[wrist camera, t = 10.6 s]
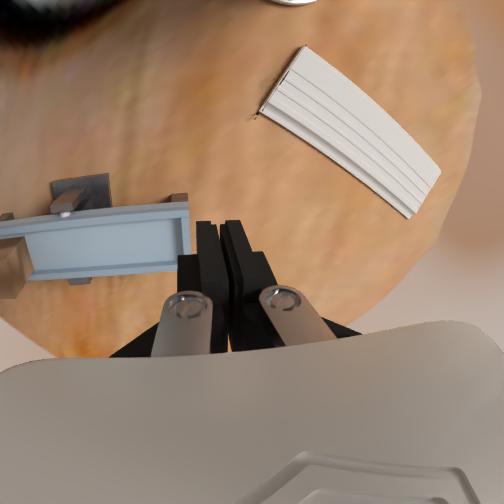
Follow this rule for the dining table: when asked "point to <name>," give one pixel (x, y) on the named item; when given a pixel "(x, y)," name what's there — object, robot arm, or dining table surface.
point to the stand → (84, 200)
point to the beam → (104, 240)
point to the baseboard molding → (351, 131)
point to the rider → (14, 266)
